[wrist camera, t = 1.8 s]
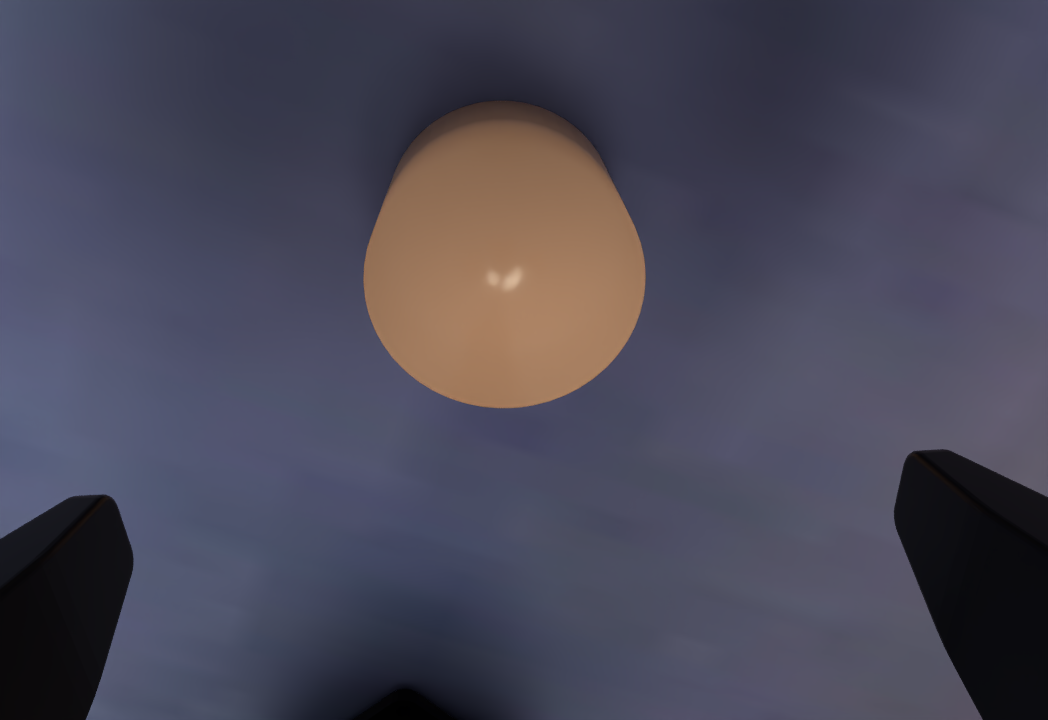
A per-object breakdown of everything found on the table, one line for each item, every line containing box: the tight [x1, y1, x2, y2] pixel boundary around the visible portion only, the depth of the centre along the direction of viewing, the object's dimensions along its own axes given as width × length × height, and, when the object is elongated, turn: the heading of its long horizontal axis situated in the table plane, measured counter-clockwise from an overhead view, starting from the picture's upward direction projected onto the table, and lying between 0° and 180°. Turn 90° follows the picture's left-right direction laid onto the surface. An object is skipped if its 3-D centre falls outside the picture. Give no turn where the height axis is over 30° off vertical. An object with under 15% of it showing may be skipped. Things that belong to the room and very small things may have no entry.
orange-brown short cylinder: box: [363, 101, 646, 408], centre depth 16 cm, size 5×5×4 cm
